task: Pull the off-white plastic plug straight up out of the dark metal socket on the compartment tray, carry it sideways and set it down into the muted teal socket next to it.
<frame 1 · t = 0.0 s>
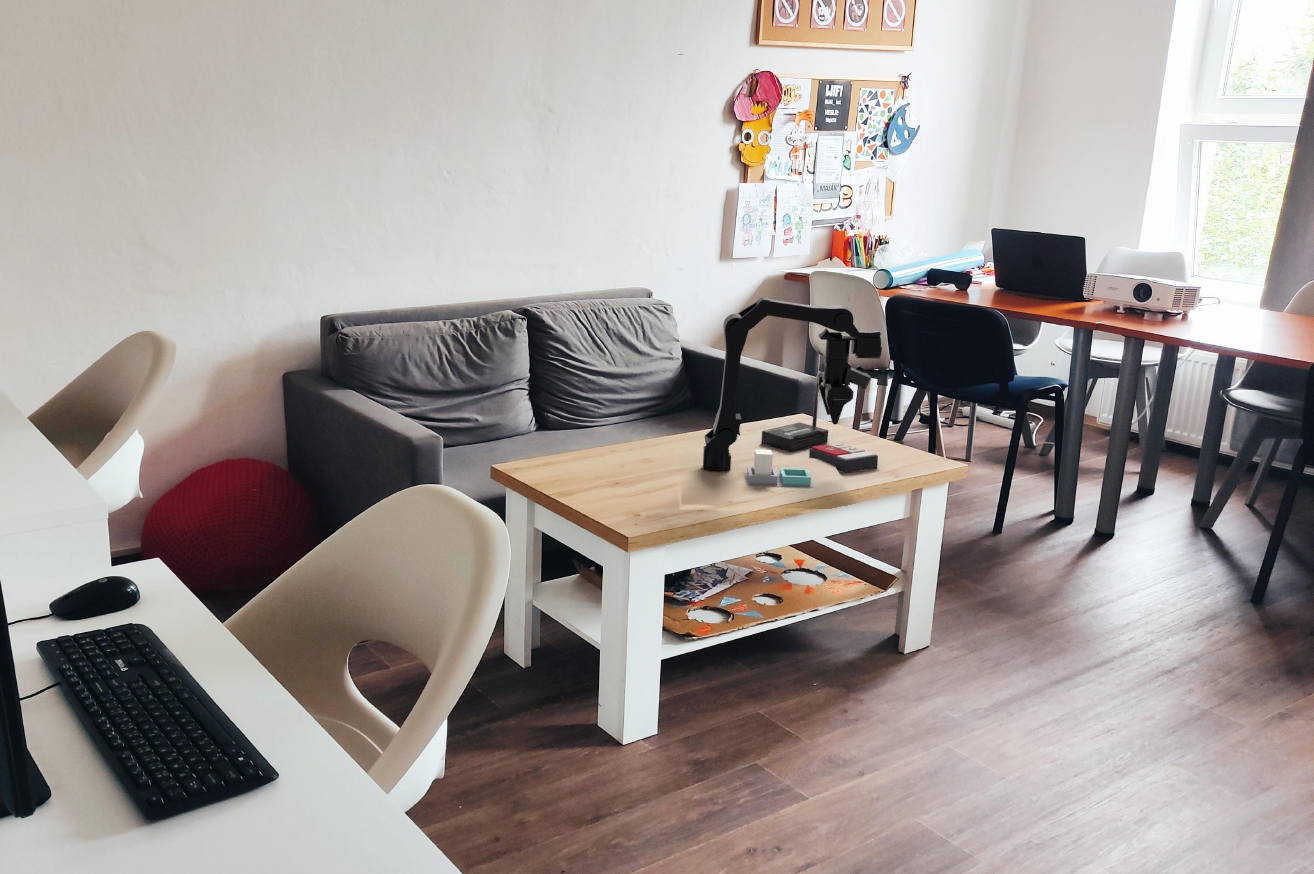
hand: (832, 419, 270), 15 cm above the table, fingers open, 9 cm apart
black antenna base: (799, 443, 304), on the table
calculator: (842, 465, 286), on the table
plug: (761, 479, 266), point 1 cm above the table, touching compartment tray
compartment tray: (778, 483, 266), on the table
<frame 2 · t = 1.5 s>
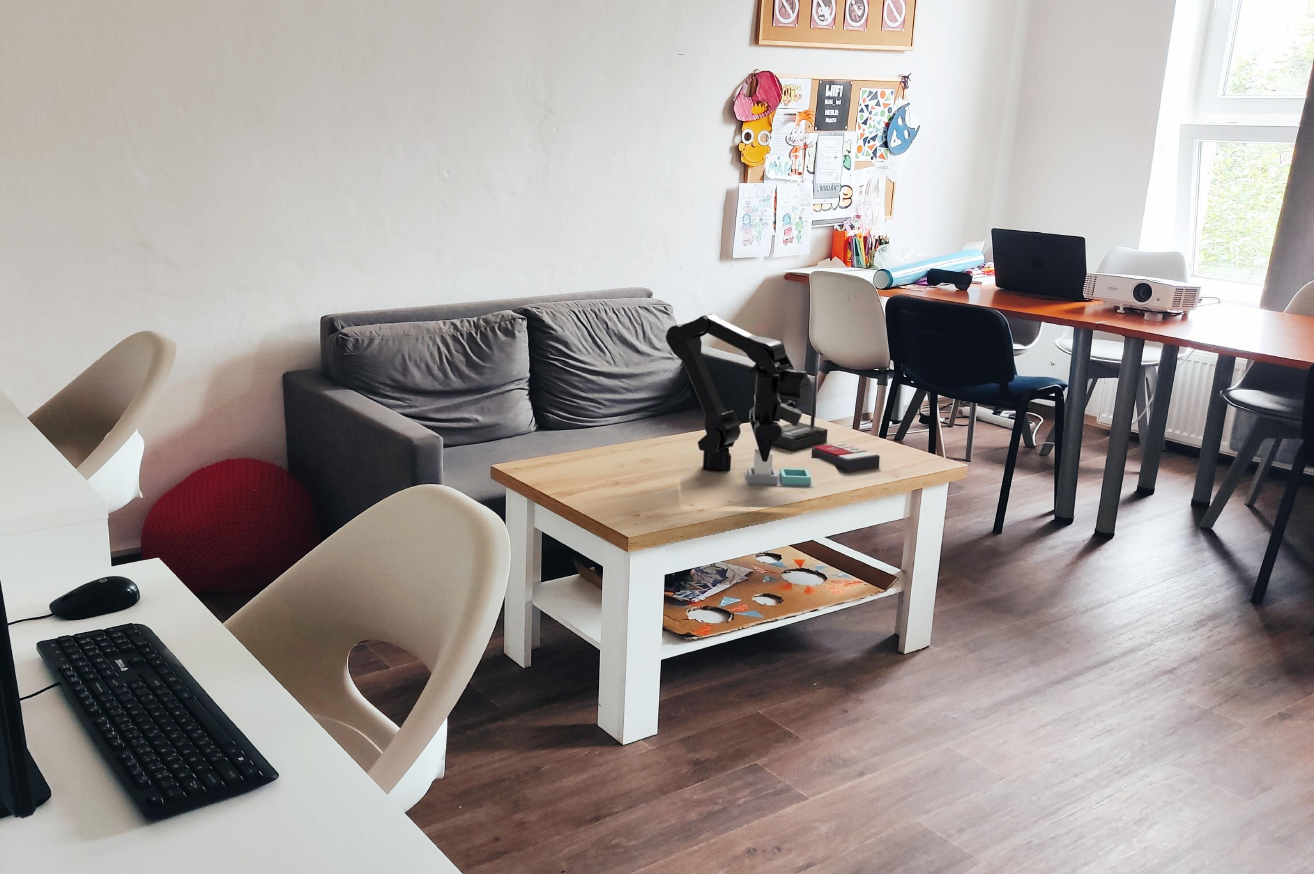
hand: (762, 456, 265), 7 cm above the table, fingers open, 9 cm apart
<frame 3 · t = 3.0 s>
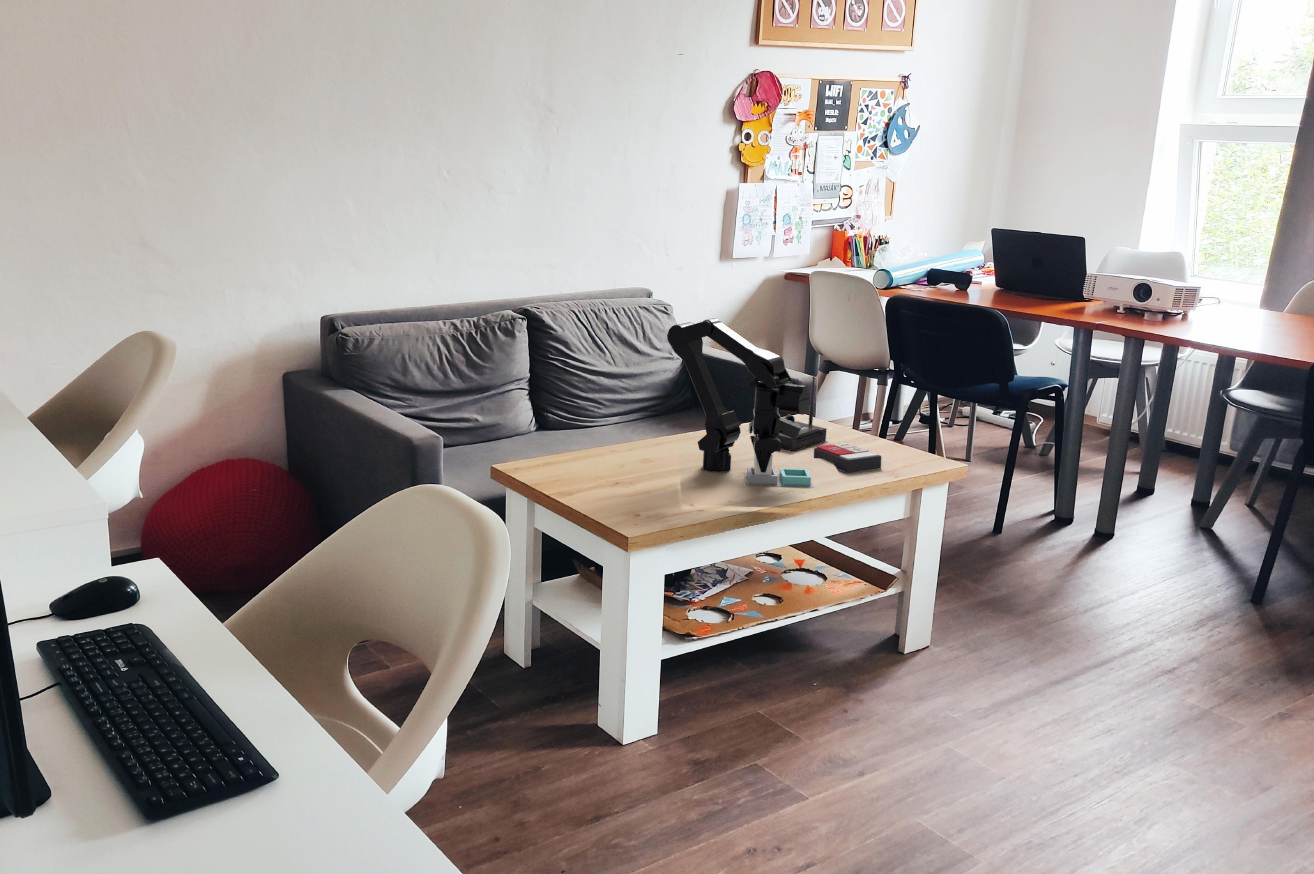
hand: (762, 469, 265), 4 cm above the table, fingers closed on plug, 4 cm apart
plug: (761, 479, 266), point 1 cm above the table, touching gripper, compartment tray
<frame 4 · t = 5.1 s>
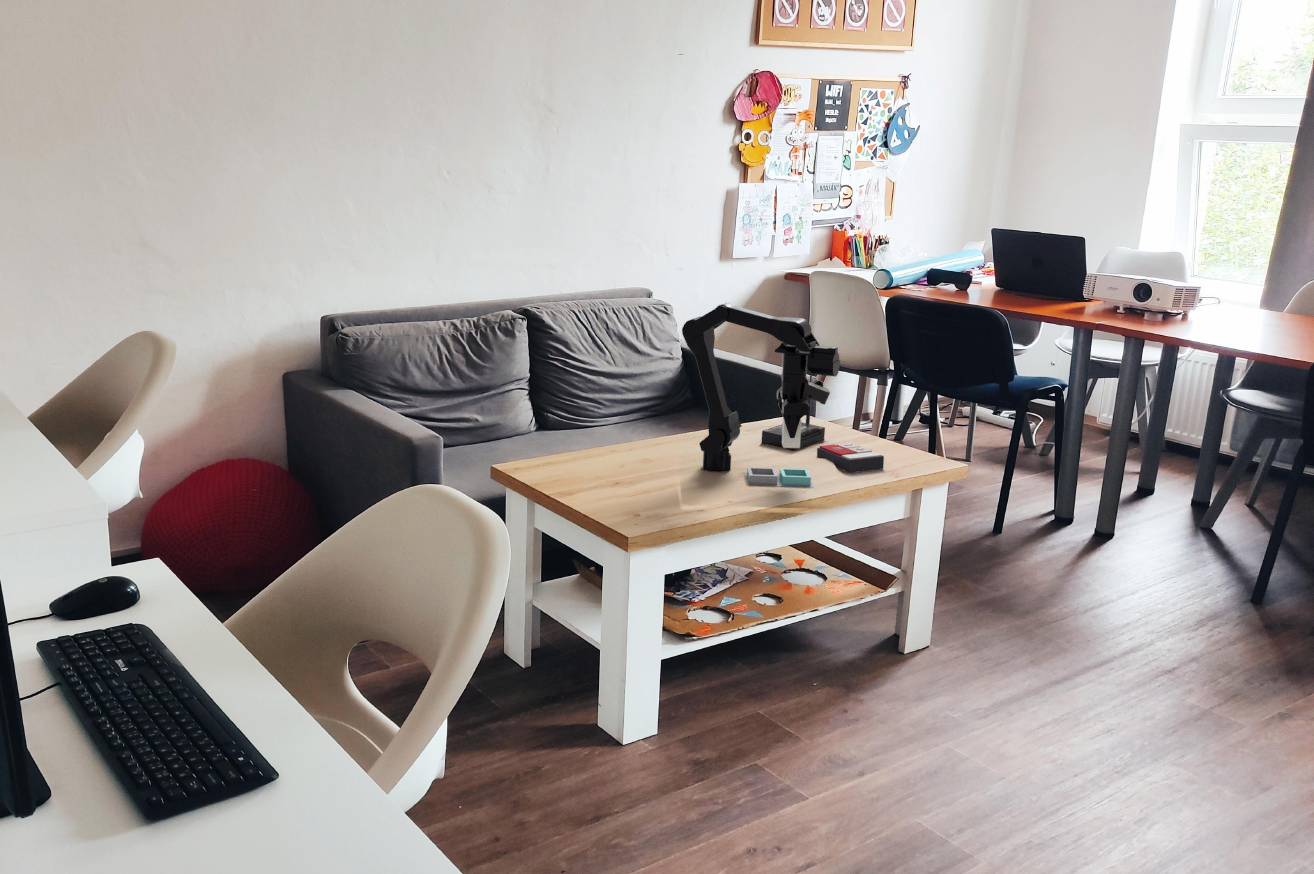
hand: (791, 435, 263), 12 cm above the table, fingers closed on plug, 4 cm apart
plug: (790, 445, 263), point 10 cm above the table, touching gripper
when the fingers open (4 cm above the table, at t = 7.3 s): plug drops 1 cm, resting on compartment tray.
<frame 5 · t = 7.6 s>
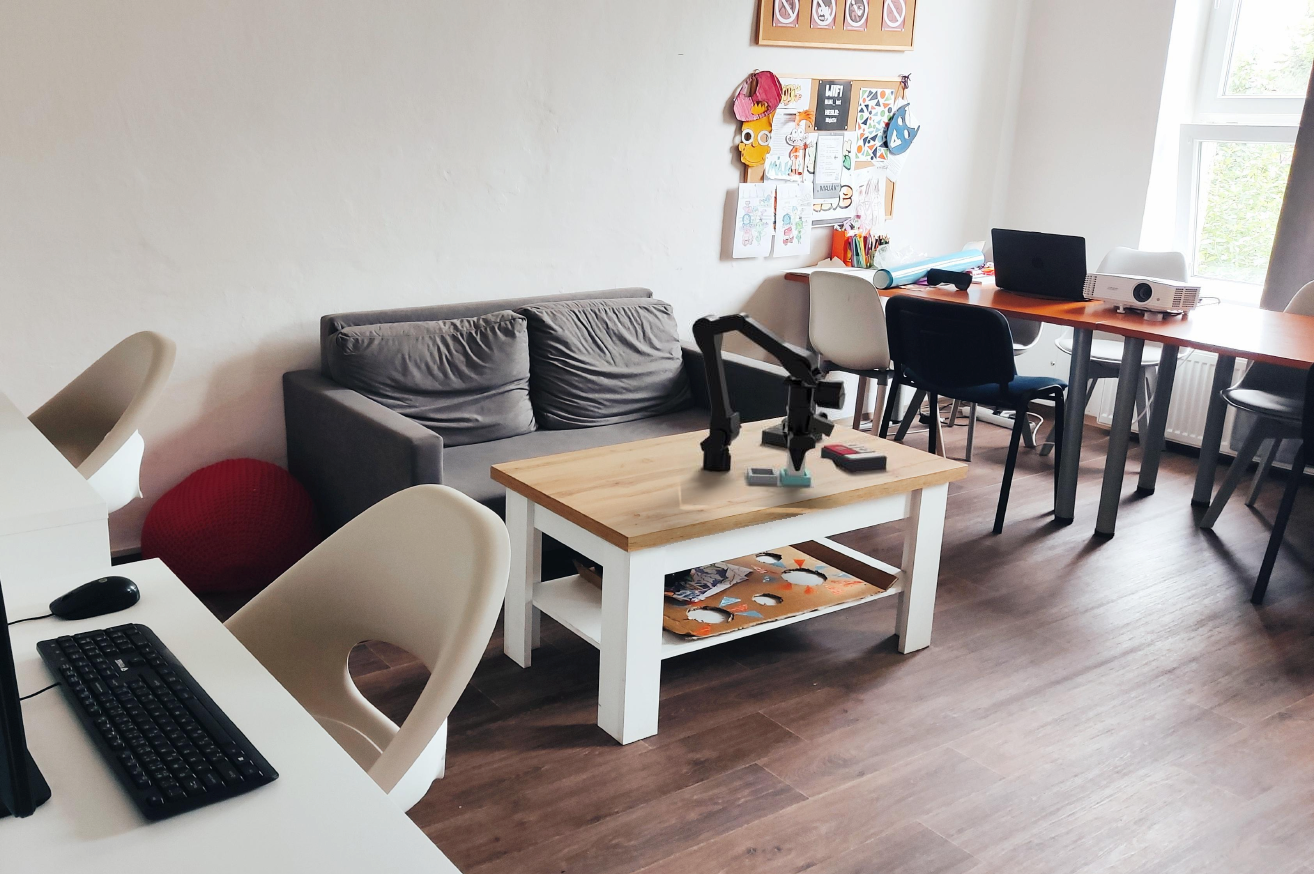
hand: (795, 466, 265), 4 cm above the table, fingers open, 7 cm apart
plug: (794, 480, 266), point 1 cm above the table, touching compartment tray
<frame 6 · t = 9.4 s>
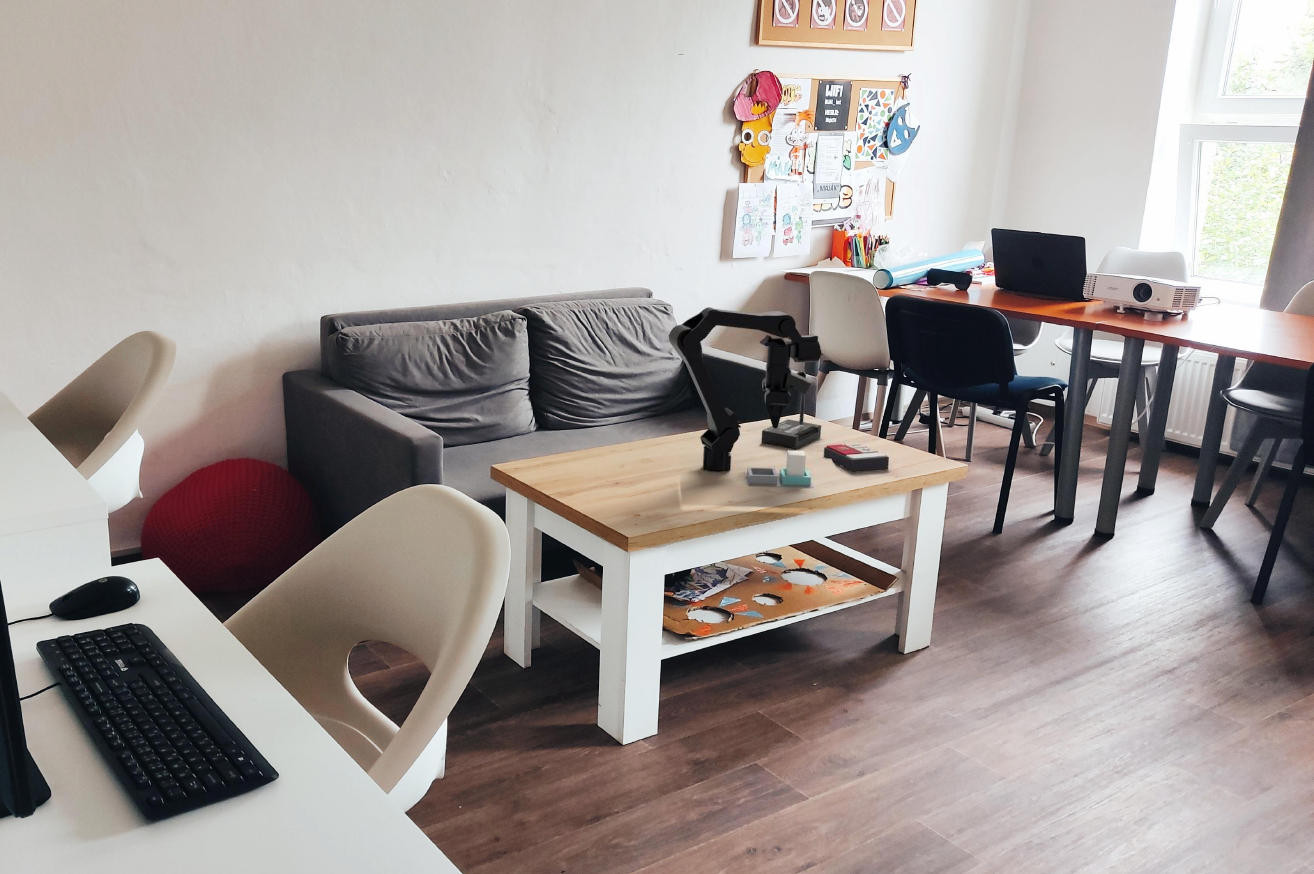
hand: (774, 423, 275), 12 cm above the table, fingers open, 9 cm apart
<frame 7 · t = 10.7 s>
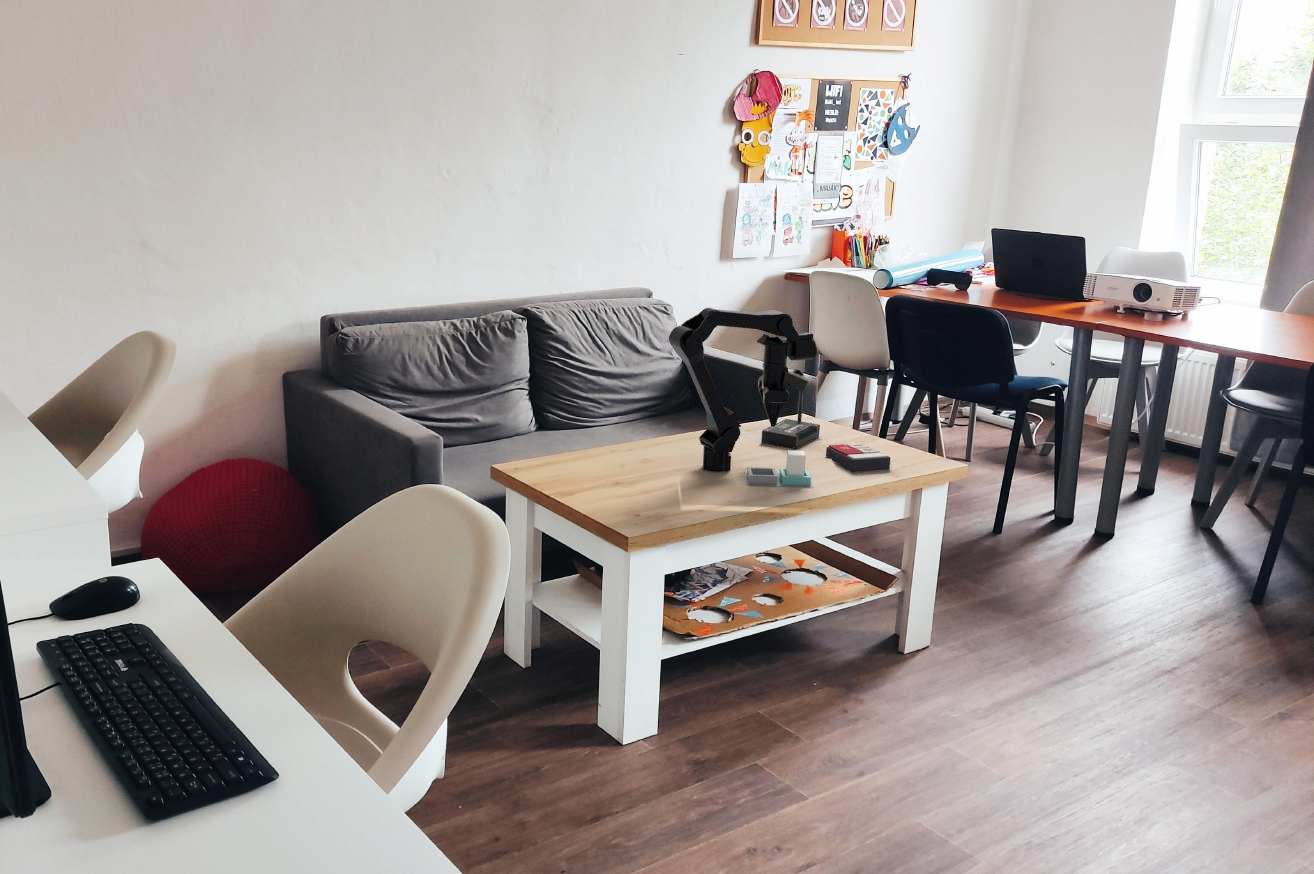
hand: (771, 421, 277), 12 cm above the table, fingers open, 9 cm apart
at the end: plug 0.0 cm from the target spot on the compartment tray, point 1.0 cm above the compartment tray's base; plug tilted 0°; the gripper is holding nothing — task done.
